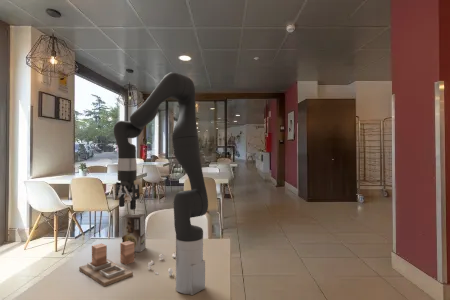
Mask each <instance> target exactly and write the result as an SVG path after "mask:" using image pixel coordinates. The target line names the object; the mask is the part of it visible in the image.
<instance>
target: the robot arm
mask: <svg viewBox="0 0 450 300" xmlns="http://www.w3.org/2000/svg"><path fill="white" fill-rule="evenodd" d="M168 99H172V100H175V101H177V104H178V118H177V120H176V123H175V126H174V128H173V130H172V135H171V138H172V139H171V141H172V149H173V151H172V152H173V154H174V157H175V159H176V161H177V162H178V164H179V165H180V167H182V169H183V170H184V172H185V173H186V175H187V177H188V179H189V180H188V181H189V186H190V189H189V190H181V191H177V193H175V196H174V198H173V215H174V216H173V217H174V218H173V219H174V221H173V222H174V223H173V224H174V232H175V254H176V257H175V290H176V292H178V293H180V294H183V295H190V296H193V295H195V294H197V293H199V292H200V291H203V290H204V289H206V260H204V229H203V228H202V227H200V226H199V225H193V224H192V223H191V218H197V217H202V216H205V215H206V214H207V212H208V210H209V198H208V192H207V188H206V183H205V179H204V178H205V177H204V173H203V168H202V167H203V166H202V160H201V149H200V140H199V134H198V127H197V115H196V88H195V83H194V82H193V80H192V79H191V78H190V77H188V76H185V75H183V74H180V73H178V72H175V71H171V72H169V73H167V74H165V75H164V77H163V78H162V79H160V82H158V84H157V85H156V86H155V88H154V89H153V91H152V92H151V93H150V95H149V96H148V97H147V98H146V100H145V101H144V102H143V103H142V104H141V105H140V106H139V107H138V108H137V109H135V110H134V111H133V112H132V113H131V114H130V117H129V121H128V120H118V121H116V123H115V124H114V127H113V134H114V138H115V142H116V145H117V150H118V151H117V155H118V156H117V181H116V183H115V196H116V197H117V198H118V206H119V208H122V207H125V204H126V202H125V201H126V200H125V199H126V198H125V197H126V196H127V197H129V200H130V201H129V208H130V210H136V209H137V208H136V207H137V200H139V199H140V184H139V183H137V184H135V181H137V173H138V172H137V171H138V169H137V165H138V164H137V146H136V145H135V144H132V143H130V142H129V140H128V139H135V138H138V137H139V136H140V135H141V134H142V132H143V130H144V129H145V127H146V126H148V125H149V124H150V123H151V122H153V120H154V119H155V118H156V117H157V115H158V112H159V108H160V106H161V104H162V103H163V102H165V101H167V100H168Z"/></svg>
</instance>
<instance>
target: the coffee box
mask: <svg viewBox="0 0 450 300" xmlns="http://www.w3.org/2000/svg"><path fill="white" fill-rule="evenodd" d="M121 231H122V232H121V233H122V234H121V235H122V236H121V237H122V239H121V241H122V242H121V243H123V242H126V241H131V242H134V253H139V252H140V253H141V252H142V251H144V250H145V249H146V247H147V246H146V213H126V214H124V215H123V216H122V217H121Z"/></svg>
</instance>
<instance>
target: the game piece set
mask: <svg viewBox="0 0 450 300" xmlns="http://www.w3.org/2000/svg"><path fill="white" fill-rule="evenodd" d="M171 257H172V258H176V251H173V253H172V255H171ZM163 258H164V254H162V253H161V254H159V261H162V260H164V259H163ZM152 265H154V261H153V260H151V261H148V263H147V269H148V270H149V271H150V270H151V268H152ZM153 272H154V275H159V274H160V273H159V272H156V270H153ZM167 272H168V276H169V277H171V276H172V275H173V272H174V270H173V268H170V267H169V268H168V270H167Z"/></svg>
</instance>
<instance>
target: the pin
mask: <svg viewBox="0 0 450 300" xmlns="http://www.w3.org/2000/svg"><path fill="white" fill-rule="evenodd" d="M119 257H120V263H121V264H123V265H129V264H132V263H135V252H134V242H131V241H126V242H123V243H122V242H120V255H119Z"/></svg>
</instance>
